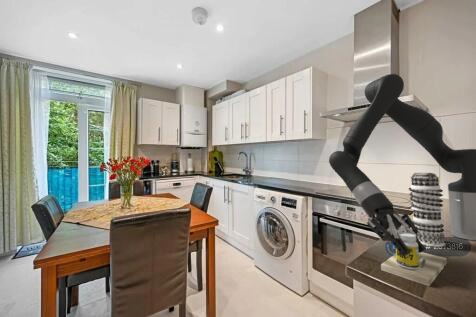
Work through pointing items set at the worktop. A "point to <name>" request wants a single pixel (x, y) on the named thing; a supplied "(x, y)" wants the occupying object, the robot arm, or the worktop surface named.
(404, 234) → the supplement bottle
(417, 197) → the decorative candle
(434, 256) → the board
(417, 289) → the worktop surface
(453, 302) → the worktop surface
